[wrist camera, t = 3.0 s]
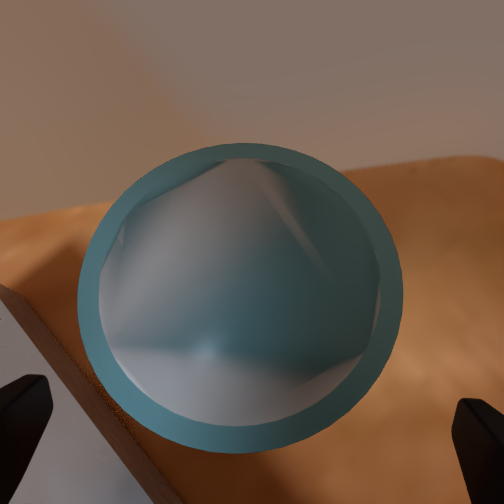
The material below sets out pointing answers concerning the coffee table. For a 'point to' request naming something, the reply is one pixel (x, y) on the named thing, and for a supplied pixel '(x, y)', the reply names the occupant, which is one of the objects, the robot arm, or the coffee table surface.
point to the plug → (240, 298)
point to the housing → (72, 425)
